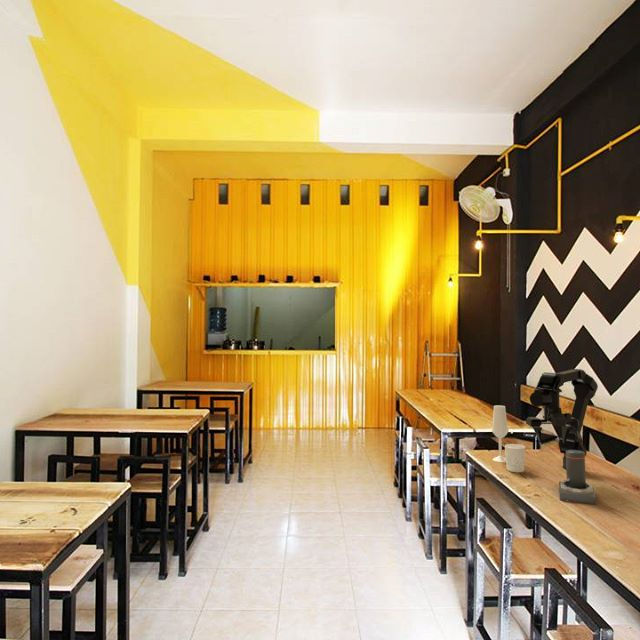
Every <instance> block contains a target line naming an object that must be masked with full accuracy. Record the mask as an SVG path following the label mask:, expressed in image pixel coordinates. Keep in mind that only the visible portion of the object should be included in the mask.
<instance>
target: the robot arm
mask: <svg viewBox="0 0 640 640" xmlns="http://www.w3.org/2000/svg"><path fill="white" fill-rule="evenodd" d="M568 382H570V383H571V385H572V386H573V393H574V395H575V400H574V404H573V407H572V411H571V413H570V412H565V413H563V411H562V407H561V406H560V405H561V404H560V402H561V400H560V393H563V390H562V389H561V387H563V386H564V384H565V383H568ZM598 387H599V385H598V383H597V381H596V380H595V379H594V378H593V377H592V376H591V375H589V374H587V373H586V372H585V370H583V369H581V368H580V369H578V368H571V369H568V370H564V371H560V372H543V373H541V376H540V378H539V380H538V382H537V385H536V387H535V388H534V390H533V392H532V393H531V394H530V396H529V402H530V404H531V405H532V406H533V407H536V408H538V407H542V409H543V415H542V419H540V418H538V417H536V416H533V417H532V416H528V417H526V419H525V424H526V425H528V426H529V427H531V428H532V429H533V431H534V433H535V436H536V437H537V440H538V442H539V444H541V445H542V443H543V434H542V430H543V427H542V425H552V426H554V427H561V432H560V435H559V438H558V442H557V443H558V449H559V452H560V453H561V454H563V457H562V466H561V467H562V468H563V469H565V470H566V451H567V450H580V451H583V452H585V457H586V456H587V452H588V451H587V449H586V447H585V446H584V445H583V443H584V442H583V441H584V440H583V437H582V434H581V432H582V428H583V424H584V421H585V416H586V412H587V409H588V404H589V402H590V401H591V400H592V399H593V398H594V397H595V395H596V392H597V390H598Z"/></svg>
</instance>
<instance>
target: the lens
mask: <svg viewBox="0 0 640 640" xmlns="http://www.w3.org/2000/svg"><path fill="white" fill-rule="evenodd" d="M565 470H566V472H565V473H566V480H567V486H568V487H572V488H579V489H583V488H586V483H587V479H586V475H587V474H586V456H585V452H583V451H580V450H567V451H566V469H565Z"/></svg>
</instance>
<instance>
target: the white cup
mask: <svg viewBox="0 0 640 640" xmlns="http://www.w3.org/2000/svg"><path fill="white" fill-rule="evenodd" d="M504 454H505V456H504V458H506V462H505V463H506V470H507V471H508V472H511V473H522V472H524V471H525V464H526V463H525V462H526V461H525V460H526V446H525V445H523V444H519V443H507V444H505V445H504Z"/></svg>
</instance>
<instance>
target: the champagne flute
mask: <svg viewBox="0 0 640 640" xmlns="http://www.w3.org/2000/svg"><path fill="white" fill-rule="evenodd" d="M492 413H493V416H492V424H491V426H492V427H491V432H492V434H494V436H495V437H496V438H497V439H498V456H496V457H493V458H492V461H493V462H498V463H506V457H505V456H503V455H502V453H503V449H502V448H503V447H502V445H503V443H502V442H503V441H502V440H503V439H504V438H505V436H507V434H508V433H509V430H508V429H509V428H508V427H509V426H508V420H507V411H506V406H505V405H501V404H500V405H493V412H492Z"/></svg>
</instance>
